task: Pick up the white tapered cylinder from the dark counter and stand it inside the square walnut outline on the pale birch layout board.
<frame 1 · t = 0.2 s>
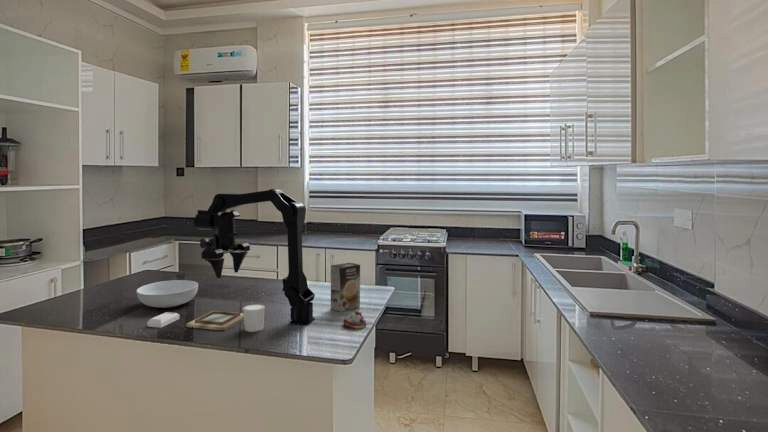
hand: (227, 275, 152), 14 cm above the countertop, fingers open, 9 cm apart
white tapered cylinder: (254, 329, 141), on the countertop
pastry: (354, 326, 144), on the countertop
serving bowl: (168, 305, 167), on the countertop
layout board: (218, 321, 147), on the countertop
coffee box: (345, 308, 163), on the countertop
soap bar: (164, 324, 146), on the countertop
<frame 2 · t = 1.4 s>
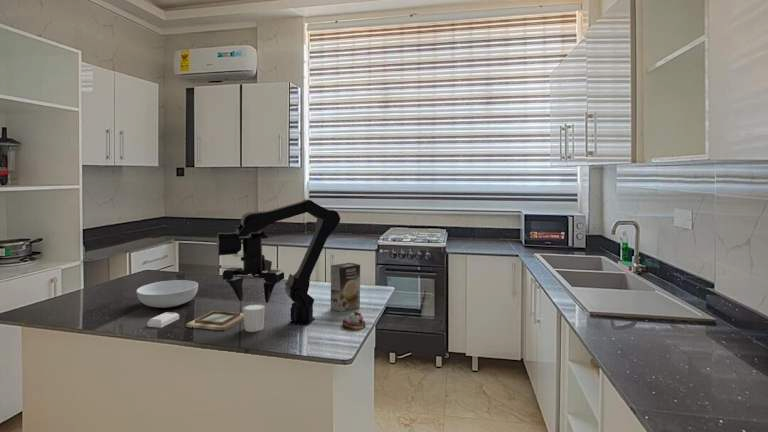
hand: (254, 301, 140), 9 cm above the countertop, fingers open, 9 cm apart
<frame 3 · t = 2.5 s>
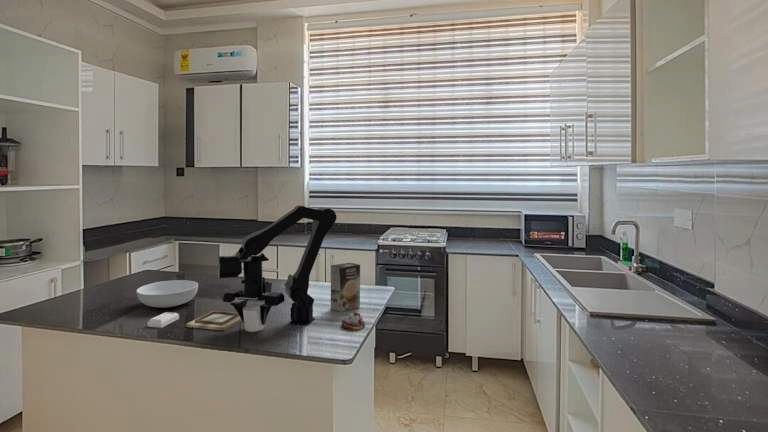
hand: (254, 323, 140), 2 cm above the countertop, fingers closed on white tapered cylinder, 6 cm apart
white tapered cylinder: (254, 329, 141), on the countertop, touching gripper
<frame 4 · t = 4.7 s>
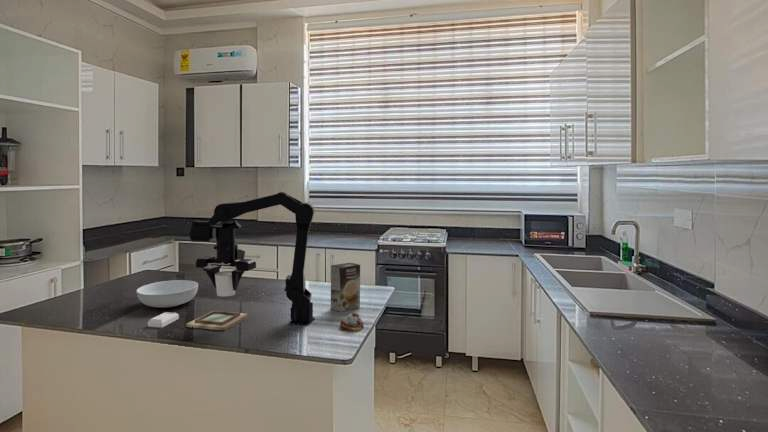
hand: (226, 289, 144), 11 cm above the countertop, fingers closed on white tapered cylinder, 6 cm apart
white tapered cylinder: (226, 294, 144), point 10 cm above the countertop, touching gripper
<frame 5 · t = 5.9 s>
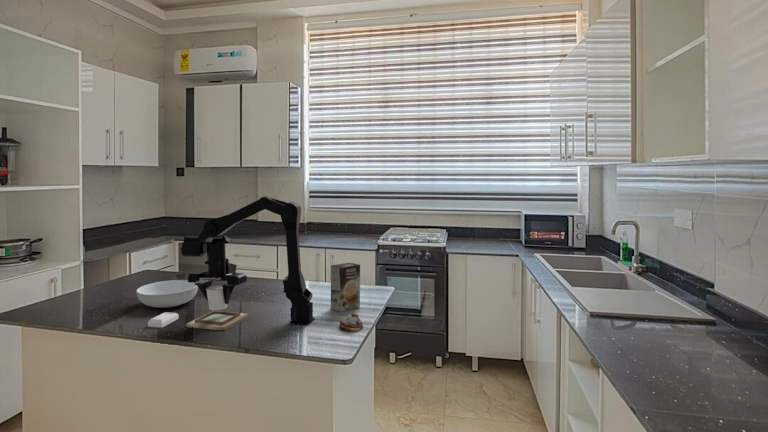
hand: (218, 303, 147), 6 cm above the countertop, fingers closed on white tapered cylinder, 6 cm apart
white tapered cylinder: (218, 308, 147), point 5 cm above the countertop, touching gripper
when the fingers open (4 cm above the countertop, at t = 6.8 s): white tapered cylinder drops 1 cm, resting on layout board.
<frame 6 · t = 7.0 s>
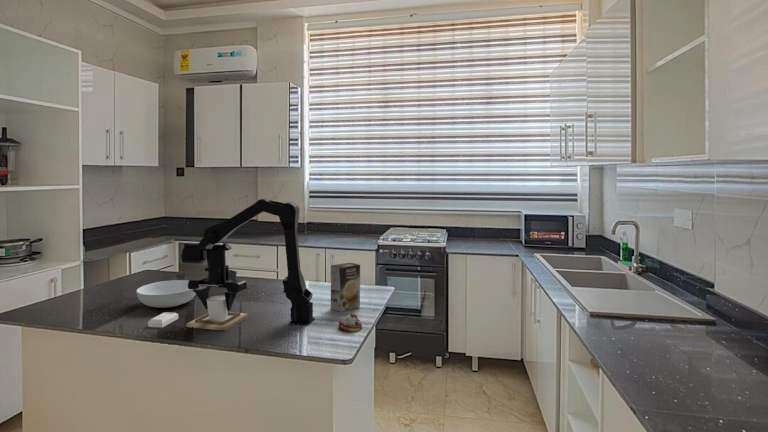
hand: (218, 309, 147), 4 cm above the countertop, fingers open, 8 cm apart
white tapered cylinder: (218, 319, 147), point 1 cm above the countertop, touching layout board
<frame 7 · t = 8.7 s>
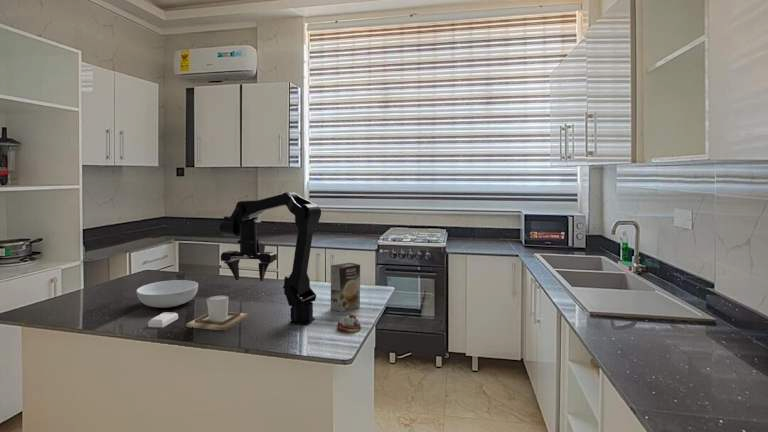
hand: (249, 280, 156), 12 cm above the countertop, fingers open, 9 cm apart
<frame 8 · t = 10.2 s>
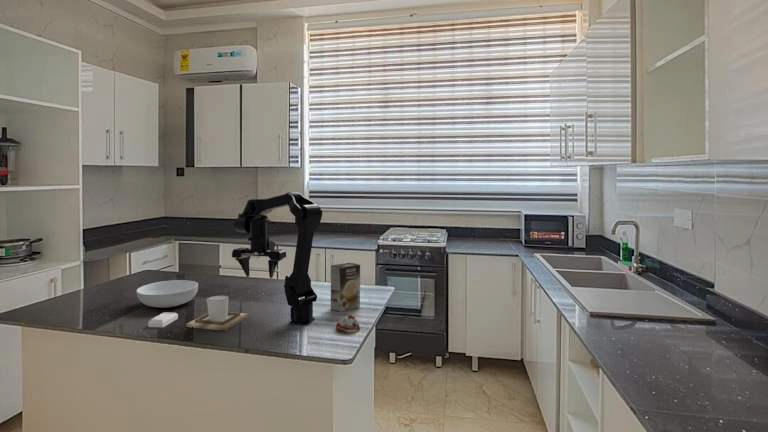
hand: (259, 277, 159), 12 cm above the countertop, fingers open, 9 cm apart
at the end: white tapered cylinder 0.1 cm off-centre on the layout board, point 0.9 cm above the layout board's base; white tapered cylinder tilted 0°; white tapered cylinder touching layout board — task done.
